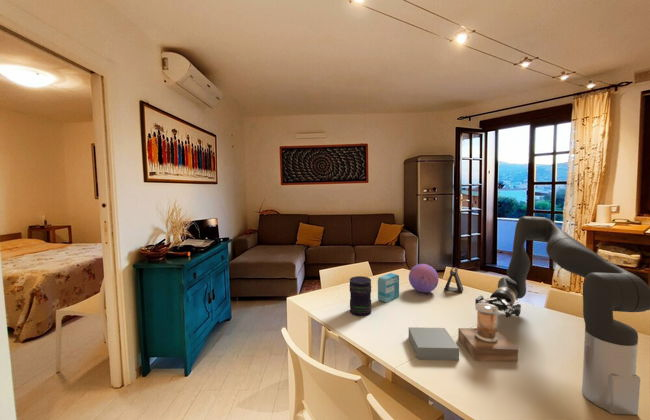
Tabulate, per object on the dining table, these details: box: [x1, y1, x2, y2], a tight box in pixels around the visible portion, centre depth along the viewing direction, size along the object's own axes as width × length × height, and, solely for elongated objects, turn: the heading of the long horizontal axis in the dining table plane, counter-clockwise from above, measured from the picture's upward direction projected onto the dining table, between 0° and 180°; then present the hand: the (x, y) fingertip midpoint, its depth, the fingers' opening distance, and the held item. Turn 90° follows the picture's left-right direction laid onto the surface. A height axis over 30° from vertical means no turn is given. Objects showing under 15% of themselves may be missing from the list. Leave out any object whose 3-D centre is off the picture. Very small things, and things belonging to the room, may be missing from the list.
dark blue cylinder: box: [349, 275, 372, 318], centre depth 124 cm, size 10×10×15 cm
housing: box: [475, 303, 499, 343], centre depth 93 cm, size 7×7×11 cm
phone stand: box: [443, 266, 464, 294], centre depth 148 cm, size 9×6×12 cm, turn 57°
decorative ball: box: [408, 263, 439, 294], centre depth 146 cm, size 15×15×15 cm
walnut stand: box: [457, 327, 519, 362], centre depth 93 cm, size 13×13×4 cm
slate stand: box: [408, 326, 460, 361], centre depth 95 cm, size 13×13×4 cm
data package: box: [377, 272, 400, 304], centre depth 138 cm, size 12×4×12 cm, turn 131°
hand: (492, 311), depth 99 cm, fingers open, 8 cm apart
